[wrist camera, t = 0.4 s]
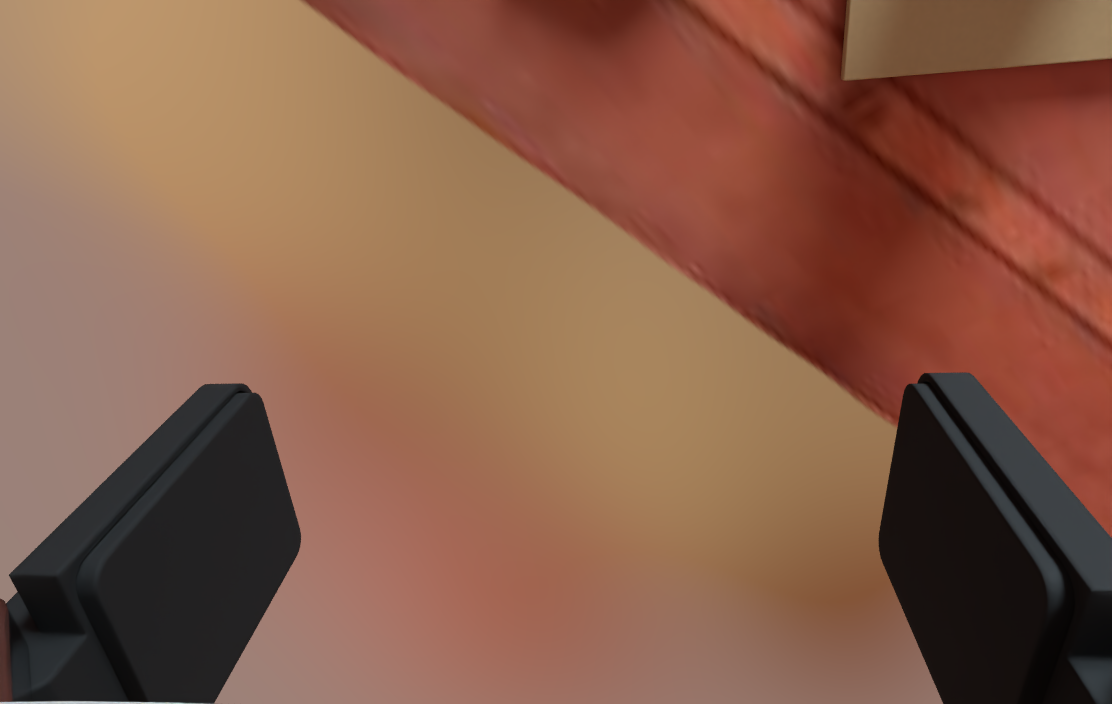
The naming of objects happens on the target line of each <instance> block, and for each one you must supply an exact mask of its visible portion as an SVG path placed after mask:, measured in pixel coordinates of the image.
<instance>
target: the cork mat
mask: <svg viewBox="0 0 1112 704" xmlns="http://www.w3.org/2000/svg"><path fill="white" fill-rule="evenodd" d="M1105 59H1112V0H847V6H846V19H845V32H844V44H843V57H842V69H841V79H842V80H844V81H848V80H861V79H873V78H885V77H897V76H909V75H922V74H934V73H946V72H958V71H971V70H983V69H995V68H1007V67H1019V66H1032V65H1044V64H1056V63H1068V62H1081V61H1093V60H1105Z"/></svg>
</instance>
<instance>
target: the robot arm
mask: <svg viewBox="0 0 1112 704" xmlns="http://www.w3.org/2000/svg"><path fill="white" fill-rule="evenodd" d="M300 543H301V533H300V528H299V525H298V521H297V518H296V514H295V511H294V507H293V504H292V500H291V497H290V493H289V490H288V486H287V483H286V479H285V476H284V472H283V469H282V466H281V462H280V459H279V455H278V452H277V449H276V445H275V442H274V438H273V435H272V431H271V428H270V424H269V421H268V417H267V414H266V410H265V407H264V403H263V401H262V398H261V397H260V396H259V395H258V394H256V393H252V392H251V390H250V389H249V388H248V386H247V385H244V384H205V385H203V386H202V387H200V388H199V389H198V390H197V391H196V392H195V393H194V394H193V395H192V396H191V397H190V398H189V399H188V400H187V401H186V402H185V403H184V404H183V405H182V406H181V407H180V408H179V409H178V410H177V411H176V412H174V413H173V414H172V415H171V416H170V417H169V418H168V419H167V420H166V421H165V422H164V423H163V424H162V425H161V426H160V427H159V428H158V429H157V430H156V431H155V432H154V433H153V434H152V435H151V436H150V437H149V438H148V439H147V440H146V441H145V442H144V443H143V444H142V445H141V446H140V447H139V448H138V449H137V450H136V451H135V452H134V453H133V454H132V455H131V456H130V457H129V458H128V459H127V460H126V461H125V462H124V463H122V465H120V467H118V468H117V469H116V470H115V472H113V473H112V474H111V475H110V476H109V477H108V478H107V479H106V480H105V481H104V482H103V483H102V484H101V485H100V486H99V487H98V488H97V489H96V490H95V491H94V492H93V493H92V494H91V495H90V496H89V497H88V498H87V499H86V500H85V501H84V502H83V503H82V504H81V505H80V506H79V507H78V508H77V509H76V510H75V511H74V512H73V513H72V514H71V515H70V516H68V518H67V519H65V520H64V521H63V522H62V523H61V524H60V525H59V526H58V527H57V528H56V529H55V530H54V531H53V532H52V533H51V534H50V535H49V536H48V537H47V538H46V539H45V540H44V541H43V542H42V543H41V544H40V545H39V546H38V547H37V548H36V549H35V550H34V551H33V552H32V553H31V554H30V555H29V556H28V557H27V558H26V559H25V560H24V561H23V562H22V563H21V564H20V565H19V566H18V567H16V568H15V569H14V570H13V572H11V573H10V574H9V576H10V578H11V580H12V582H13V584H14V585H15V587H16V589H17V591H18V592H17V593H16V594H15V595H14V596H13V597H12V598H11V599H10V600H9V601H8V602H7V603H5V601H4V600H2V599H0V704H214V702H215V700H216V699H217V697H218V695H219V693H220V691H221V690H222V688H223V686H224V684H225V682H226V681H227V679H228V677H229V675H230V674H231V672H232V670H233V668H234V667H235V665H236V663H237V661H238V660H239V658H240V656H241V654H242V652H243V651H244V649H245V647H246V645H247V644H248V642H249V640H250V638H251V636H252V635H253V633H254V631H255V629H256V628H257V626H258V624H259V622H260V620H261V619H262V617H263V615H264V613H265V612H266V610H267V608H268V606H269V604H270V603H271V601H272V599H273V597H274V595H275V594H276V592H277V590H278V588H279V586H280V585H281V583H282V581H283V579H284V578H285V576H286V574H287V572H288V571H289V569H290V567H291V565H292V564H293V562H294V560H295V558H296V556H297V554H298V552H299V548H300ZM879 551H880V556H881V559H882V562H883V565H884V567H885V569H886V571H887V574H888V576H889V579H890V581H891V583H892V586H893V588H894V590H895V593H896V595H897V597H898V599H899V602H900V604H901V606H902V609H903V611H904V613H905V616H906V618H907V620H908V623H909V625H910V627H911V630H912V632H913V634H914V637H915V639H916V641H917V643H918V646H919V648H920V650H921V653H922V655H923V658H924V660H925V662H926V665H927V667H928V669H929V672H930V674H931V676H932V679H933V681H934V683H935V685H936V688H937V690H938V692H939V695H940V697H941V699H942V702H943V704H1112V538H1111V537H1110V536H1109V535H1108V533H1107V532H1106V531H1105V530H1104V529H1103V527H1102V526H1101V525H1100V524H1099V523H1098V522H1097V520H1096V519H1095V518H1094V517H1093V516H1092V515H1091V513H1090V512H1089V511H1088V510H1087V509H1086V508H1085V506H1084V505H1083V504H1082V503H1081V502H1080V500H1079V499H1078V498H1077V497H1076V496H1075V495H1074V493H1073V492H1072V491H1071V490H1070V489H1069V488H1068V486H1067V485H1066V484H1065V483H1064V482H1063V480H1062V479H1061V478H1060V477H1059V476H1058V475H1057V473H1056V472H1055V471H1054V470H1053V469H1052V468H1051V466H1050V465H1049V464H1048V463H1047V462H1046V460H1045V459H1044V458H1043V457H1042V456H1041V455H1040V453H1039V452H1038V451H1037V450H1036V449H1035V448H1034V446H1033V445H1032V444H1031V443H1030V442H1029V441H1028V439H1027V438H1026V437H1025V436H1024V435H1023V433H1022V432H1021V431H1020V430H1019V429H1018V428H1017V426H1016V425H1015V424H1014V423H1013V422H1012V421H1011V419H1010V418H1009V417H1008V416H1007V415H1006V413H1005V412H1004V411H1003V410H1002V409H1001V408H1000V406H999V405H998V404H997V403H996V402H995V401H994V399H993V398H992V397H991V396H990V395H989V393H988V392H987V391H986V390H985V389H984V388H983V386H982V385H981V384H980V383H979V382H978V381H977V379H976V378H975V377H974V376H973V375H972V374H970V373H924V374H923V375H921V377H920V379H919V380H918V383H917V384H908V385H907V386H906V388H905V390H904V394H903V399H902V405H901V411H900V417H899V422H898V428H897V434H896V440H895V446H894V451H893V457H892V462H891V468H890V474H889V480H888V485H887V491H886V497H885V502H884V508H883V514H882V520H881V526H880V531H879Z"/></svg>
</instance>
